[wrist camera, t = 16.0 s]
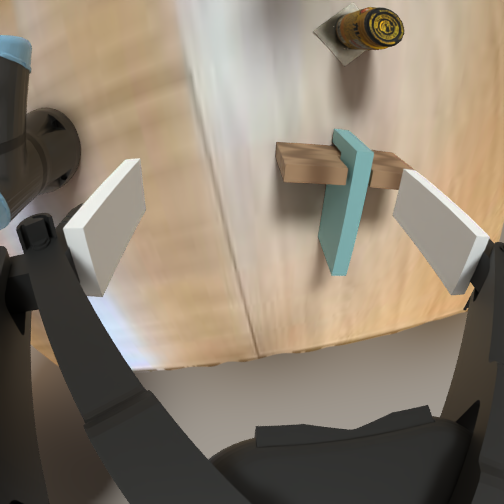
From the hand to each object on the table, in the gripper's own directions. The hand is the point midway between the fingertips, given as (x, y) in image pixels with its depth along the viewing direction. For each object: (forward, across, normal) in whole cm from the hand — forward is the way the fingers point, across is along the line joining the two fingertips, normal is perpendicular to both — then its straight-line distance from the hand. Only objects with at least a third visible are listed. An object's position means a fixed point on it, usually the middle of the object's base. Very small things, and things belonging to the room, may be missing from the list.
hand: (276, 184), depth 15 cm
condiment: (+35, +14, +12) cm, 40 cm away
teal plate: (+34, +14, -14) cm, 40 cm away
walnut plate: (+35, +14, -8) cm, 38 cm away
